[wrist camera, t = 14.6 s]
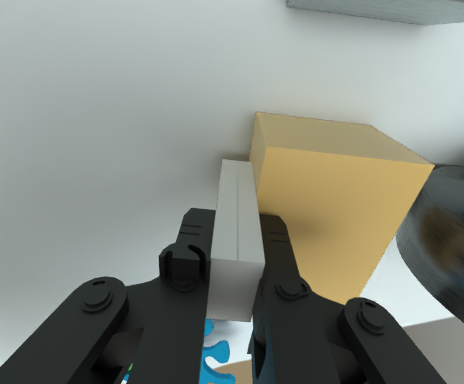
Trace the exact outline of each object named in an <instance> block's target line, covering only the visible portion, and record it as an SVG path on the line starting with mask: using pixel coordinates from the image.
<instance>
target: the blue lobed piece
mask: <svg viewBox="0 0 464 384" xmlns="http://www.w3.org/2000/svg"><path fill="white" fill-rule="evenodd" d="M213 328H214V326H213V324H212V322H211V320H210V319H206V323H205V333H204V336H207V335H209V334H210V333H211V331H212V329H213ZM229 355H230V349H229V344H228V341H225V340H222V341H220V342H219V343H217V344H216V345H214V346H211V347H203V352H202V362H201V371H200V380H199V384H207V383H209V382H213V383H215V384H235V377H234V376H233V375H232V374H221V373H218V372H216V371H214V370H213V369H211V368H210V367H209V366H208V365H207V364H206V362H205V358H206V357H207V356H211V357H213V358H214V359H216V360H217V361H218V362H220V363H226V362H228V360H229ZM132 365H133V363H132V364H131V366H130V368H129V370H128V372H127V373H126V375H125V377H124V379H123V380H125V381H127V380H128V377H129V374H130V371H131V368H132Z"/></svg>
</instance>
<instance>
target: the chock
mask: <svg viewBox="0 0 464 384" xmlns="http://www.w3.org/2000/svg"><path fill="white" fill-rule="evenodd" d="M249 162H252V165H253V173H254V180H255V188H256V196H257V203H258V211H259V214H267V215H277V216H279V217H280V218H281V219H282V220H283V221H284V222H285V224H286V226H287V230H288V233H289V234H288V235H289V237H290V241H291V244H292V248H293V252H294V256H295V259H296V263H297V267H298V270H299V274H300V276H301V277H302V278H303V279H304V280H305V281H306V282H307V283H308V284H309V285H310V287H311V289H312V291H313V292H315V293H316V294H318V295H320V296H322V297H324V298H327V299H329V300H332V301H335V302H338V303H340V304H343V305H345V304H346V303H347V301H348V300H349V299H352V298H354V297H359V295H360V294H361V292H362V290H363V288H364V287H365V285H366V283H367V282H368V280H369V278H370V276H371V275H372V273H373V271H374V270H375V268H376V266H377V264H378V263H379V261H380V259H381V257H382V256H383V254H384V252H385V251H386V249H387V247H388V245H389V244H390V242H391V240H392V239H393V237H394V235H395V233H396V232H397V230H398V228H399V227H400V225H401V223H402V221H403V220H404V218H405V216H406V214H407V213H408V211H409V209H410V208H411V206H412V204H413V202H414V201H415V199H416V197H417V196H418V194H419V192H420V190H421V189H422V187H423V185H424V184H425V182H426V180H427V178H428V177H429V175H430V173H431V171H432V170H433V168H434V166H435V165H434V164H432V163H431V162H429V161H427V160H426V159H424V158H423V157H421V156H419V155H418V154H416V153H415V152H413V151H411V150H410V149H408V148H407V147H405V146H403V145H402V144H400V143H399V142H397V141H395V140H394V139H392V138H390V137H389V136H387V135H386V134H384V133H382V132H381V131H379V130H378V129H376V128H374V127H373V126H371V125H363V124H354V123H346V122H338V121H329V120H321V119H312V118H304V117H296V116H287V115H279V114H271V113H262V112H256V118H255V124H254V131H253V137H252V143H251V149H250V156H249Z"/></svg>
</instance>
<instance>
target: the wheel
mask: <svg viewBox="0 0 464 384" xmlns="http://www.w3.org/2000/svg"><path fill="white" fill-rule="evenodd" d="M396 241H397V246H398V249H399V252H400V254H401V256H402V258H403V260H404V262H405V263H406V265H407V266H408V268H409V269H410V271H411V272H412V273H413V275H414V276H415V277H416V278H417V279H418V281H419V282H420V283H421V284H422V285H423V286H424V287H425V288H426V289H427V291H428V292H429V293H430V294H431V295H432V296H433V297H434V298H435V299H436V300H438V301H439V302H440V303H441V304H442V305H443V306H444V307H445V308H446V309H448V310H449V311H450V312H451V313H452V314H453V315H455V316H456V317H457V318H458V319H460V320H461V321H462V322H463V323H464V166H445V167H440V168H437V169H434V170H433V171H432V172H431V173H430V175H429V177H428V178H427V180H426V182H425V184H424V185H423V187H422V189H421V190H420V192H419V194H418V196H417V197H416V199H415V201H414V202H413V204H412V206H411V208H410V209H409V211H408V213H407V215H406V216H405V218H404V220H403V221H402V223H401V225H400V227H399V229H398V230H397V235H396Z"/></svg>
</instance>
